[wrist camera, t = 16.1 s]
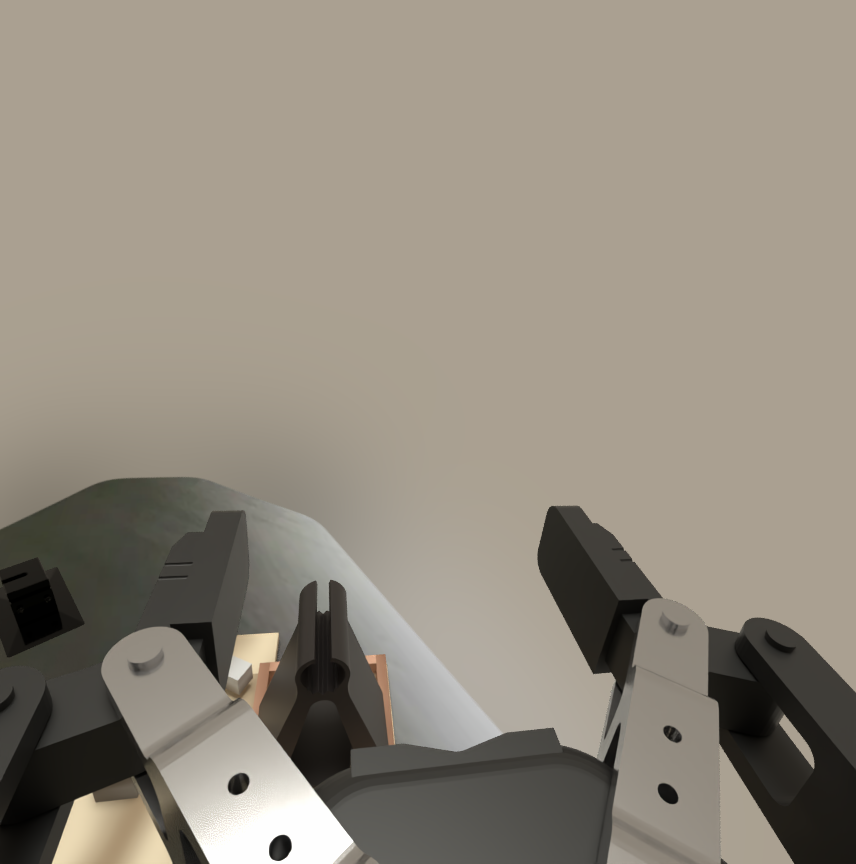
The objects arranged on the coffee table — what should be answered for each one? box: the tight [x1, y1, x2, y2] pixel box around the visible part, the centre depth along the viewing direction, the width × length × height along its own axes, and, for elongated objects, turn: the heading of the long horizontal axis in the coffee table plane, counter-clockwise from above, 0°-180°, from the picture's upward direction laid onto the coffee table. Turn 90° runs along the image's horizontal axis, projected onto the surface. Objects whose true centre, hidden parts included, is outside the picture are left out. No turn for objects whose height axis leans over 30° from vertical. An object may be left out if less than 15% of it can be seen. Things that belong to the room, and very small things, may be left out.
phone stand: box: [258, 580, 389, 789], centre depth 32 cm, size 9×6×12 cm, turn 100°
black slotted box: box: [0, 557, 84, 657], centre depth 45 cm, size 12×7×5 cm, turn 46°
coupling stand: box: [52, 633, 395, 864], centre depth 36 cm, size 21×17×4 cm
